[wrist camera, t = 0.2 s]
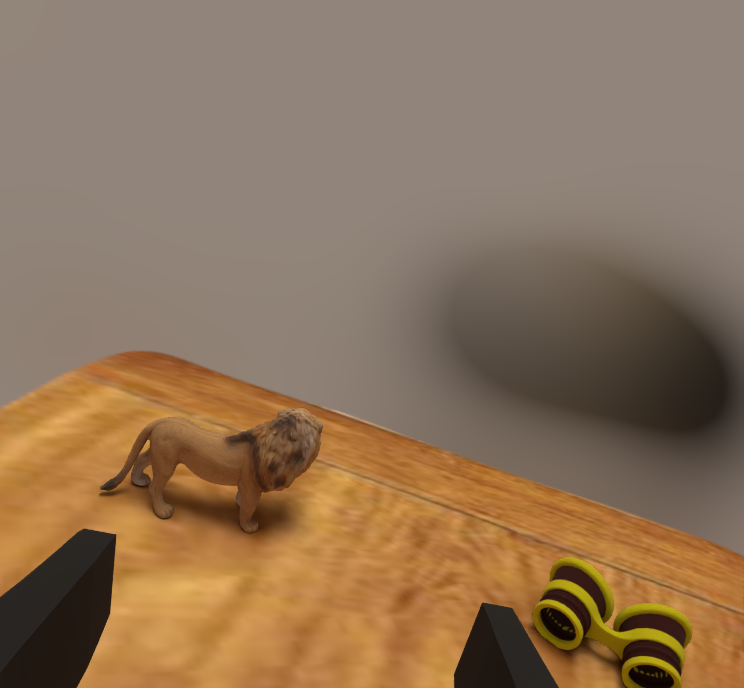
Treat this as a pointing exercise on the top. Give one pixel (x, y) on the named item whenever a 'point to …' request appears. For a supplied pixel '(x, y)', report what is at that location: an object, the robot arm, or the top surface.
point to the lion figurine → (226, 458)
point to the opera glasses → (630, 630)
